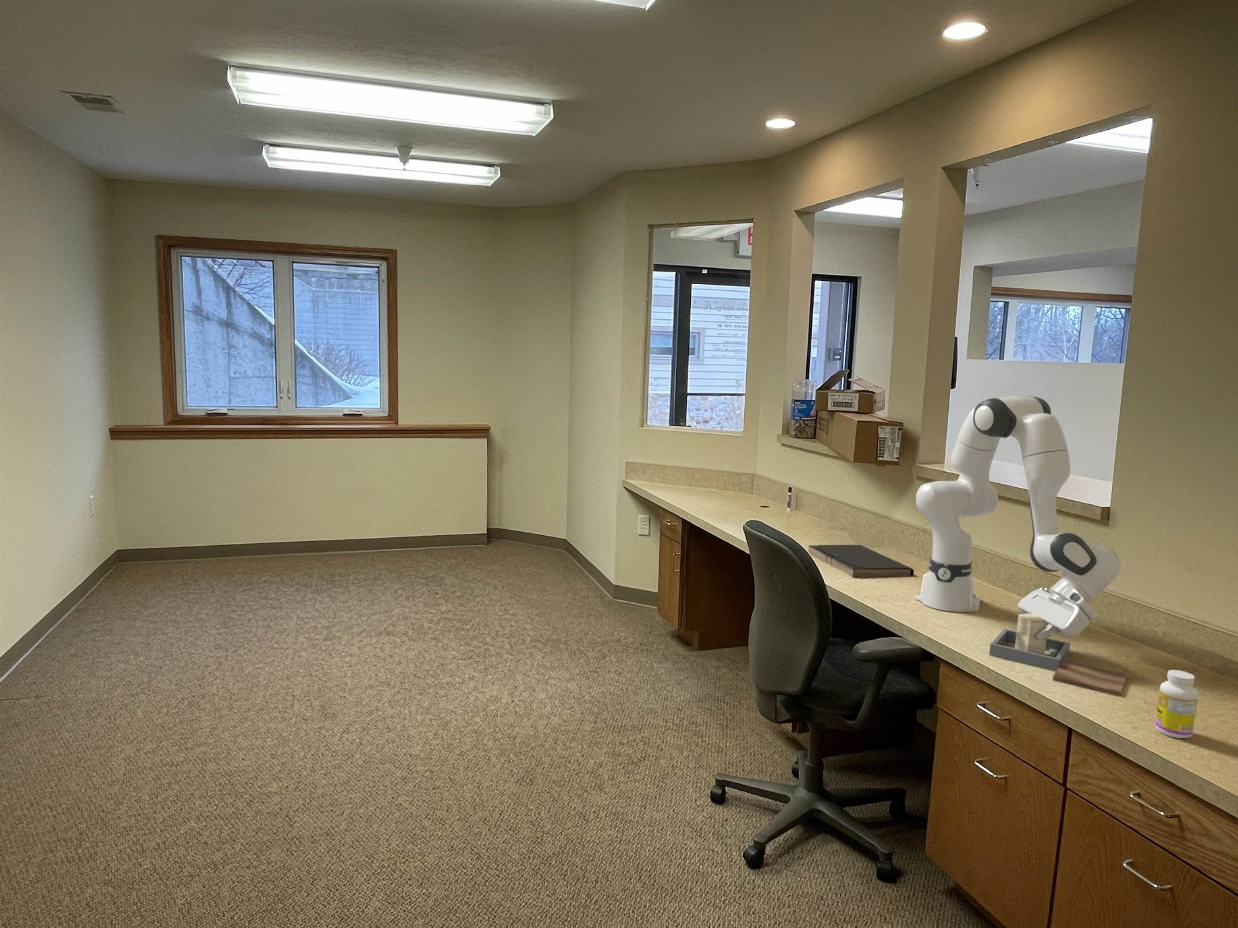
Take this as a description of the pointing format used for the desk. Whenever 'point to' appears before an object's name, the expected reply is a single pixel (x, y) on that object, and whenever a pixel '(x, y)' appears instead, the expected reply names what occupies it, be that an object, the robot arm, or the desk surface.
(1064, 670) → the walnut board
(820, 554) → the dark flat wooden case
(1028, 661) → the parts tub
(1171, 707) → the supplement bottle
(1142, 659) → the desk surface
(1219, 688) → the desk surface
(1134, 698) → the desk surface
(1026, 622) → the block
